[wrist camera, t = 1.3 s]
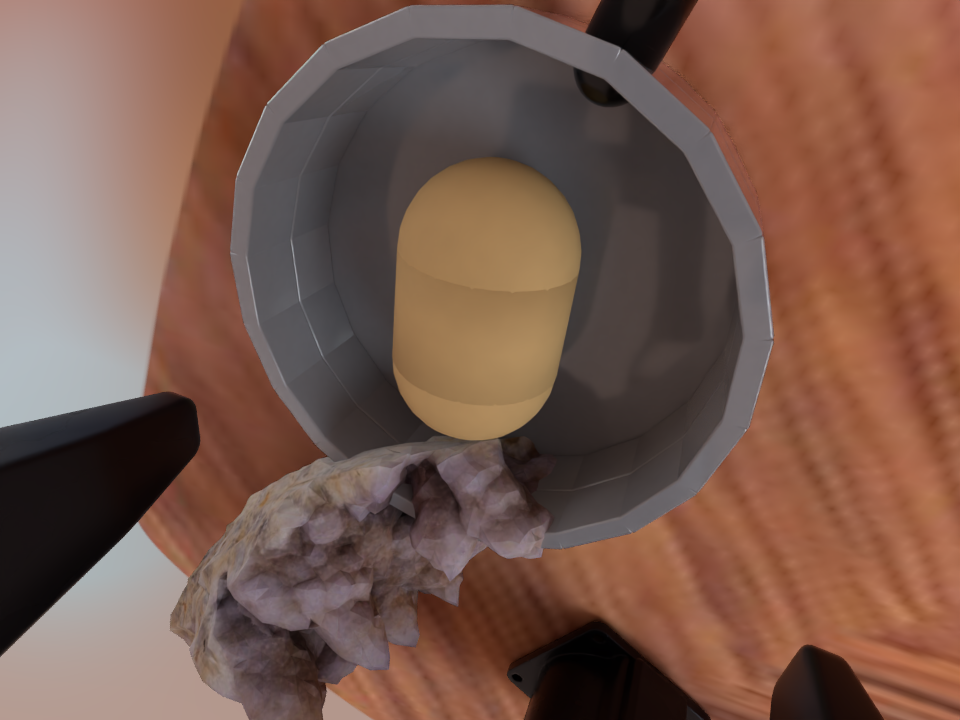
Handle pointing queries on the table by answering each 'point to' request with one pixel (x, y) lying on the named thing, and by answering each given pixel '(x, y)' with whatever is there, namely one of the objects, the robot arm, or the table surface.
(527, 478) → the mineral specimen
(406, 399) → the potato
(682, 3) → the pan handle
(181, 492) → the table surface
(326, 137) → the pan
